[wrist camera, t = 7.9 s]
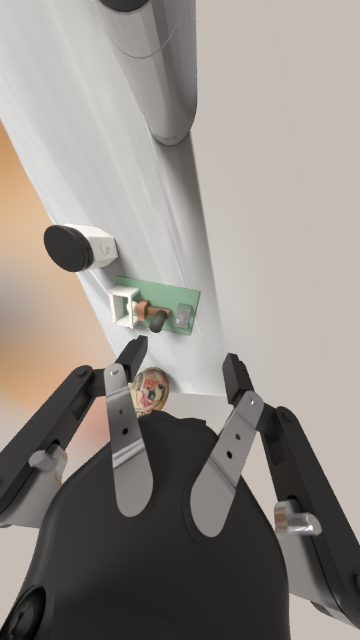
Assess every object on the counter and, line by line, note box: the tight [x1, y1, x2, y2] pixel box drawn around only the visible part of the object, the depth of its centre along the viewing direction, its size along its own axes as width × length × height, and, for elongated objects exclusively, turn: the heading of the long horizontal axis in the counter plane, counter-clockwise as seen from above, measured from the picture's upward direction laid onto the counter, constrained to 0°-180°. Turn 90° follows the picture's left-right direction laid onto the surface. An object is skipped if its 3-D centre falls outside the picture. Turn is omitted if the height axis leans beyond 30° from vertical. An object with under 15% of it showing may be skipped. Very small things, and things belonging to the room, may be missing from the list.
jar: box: [44, 224, 118, 272], centre depth 31 cm, size 9×8×12 cm
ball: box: [127, 301, 139, 314], centre depth 41 cm, size 4×4×4 cm
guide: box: [175, 303, 192, 329], centre depth 41 cm, size 7×4×3 cm, turn 172°
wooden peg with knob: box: [137, 299, 170, 333], centre depth 38 cm, size 5×9×10 cm, turn 82°
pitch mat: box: [116, 276, 200, 335], centre depth 43 cm, size 16×25×1 cm, turn 82°
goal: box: [108, 285, 139, 329], centre depth 41 cm, size 11×6×6 cm, turn 172°
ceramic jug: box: [110, 367, 169, 441], centre depth 48 cm, size 17×15×30 cm
